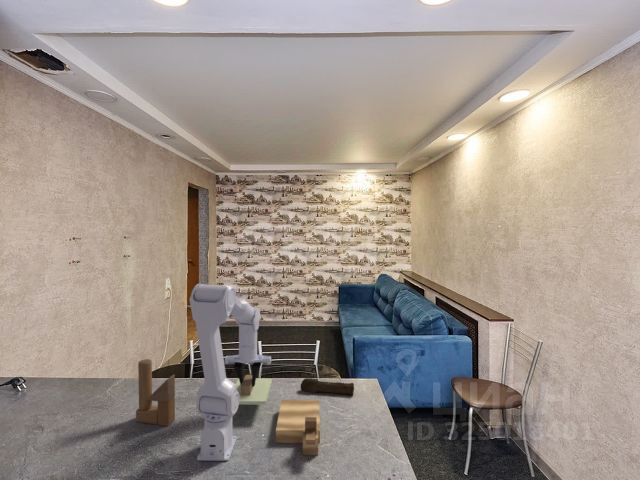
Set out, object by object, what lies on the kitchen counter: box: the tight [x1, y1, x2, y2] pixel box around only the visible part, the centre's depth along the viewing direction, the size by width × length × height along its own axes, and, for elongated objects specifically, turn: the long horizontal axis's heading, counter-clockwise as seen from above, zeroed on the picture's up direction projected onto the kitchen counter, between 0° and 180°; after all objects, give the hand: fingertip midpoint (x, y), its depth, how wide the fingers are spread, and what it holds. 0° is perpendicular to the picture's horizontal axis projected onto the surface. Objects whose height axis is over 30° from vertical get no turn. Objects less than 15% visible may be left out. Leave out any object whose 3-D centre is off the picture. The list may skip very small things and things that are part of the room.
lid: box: [234, 374, 273, 406], centre depth 112 cm, size 15×12×4 cm
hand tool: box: [300, 377, 355, 397], centre depth 124 cm, size 19×4×5 cm, turn 81°
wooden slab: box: [275, 399, 321, 456], centre depth 100 cm, size 21×12×4 cm, turn 1°
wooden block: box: [135, 358, 176, 427], centre depth 104 cm, size 4×11×18 cm, turn 79°
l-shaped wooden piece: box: [305, 417, 317, 445], centre depth 90 cm, size 6×3×4 cm, turn 1°
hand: (248, 385), depth 112 cm, fingers closed on lid, 3 cm apart
